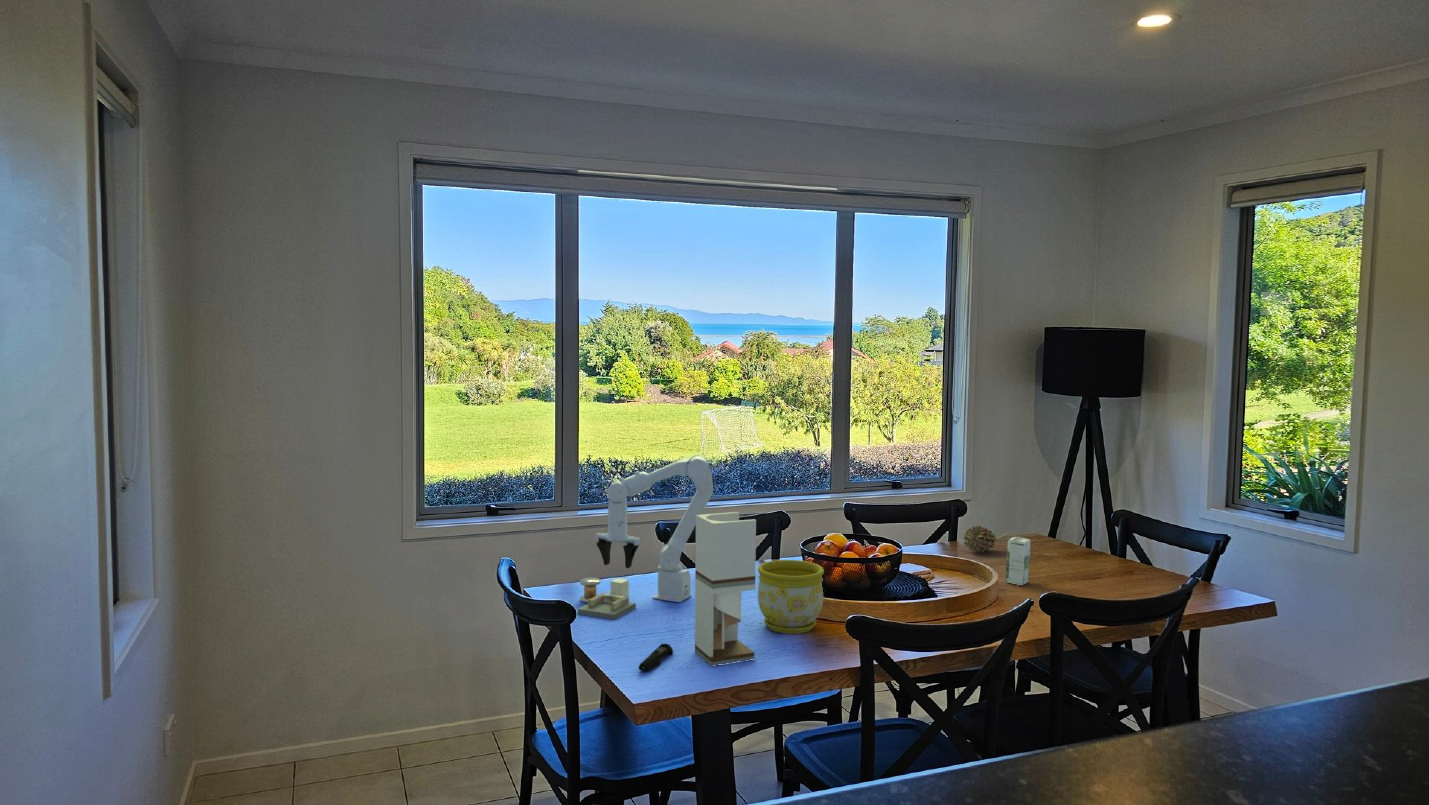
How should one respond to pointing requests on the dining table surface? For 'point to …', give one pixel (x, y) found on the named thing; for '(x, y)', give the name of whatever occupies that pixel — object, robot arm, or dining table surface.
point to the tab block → (620, 587)
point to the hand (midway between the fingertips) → (617, 565)
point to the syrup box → (1018, 561)
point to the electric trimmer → (656, 657)
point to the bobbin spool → (589, 588)
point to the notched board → (607, 606)
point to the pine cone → (981, 538)
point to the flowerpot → (790, 595)
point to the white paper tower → (722, 584)
